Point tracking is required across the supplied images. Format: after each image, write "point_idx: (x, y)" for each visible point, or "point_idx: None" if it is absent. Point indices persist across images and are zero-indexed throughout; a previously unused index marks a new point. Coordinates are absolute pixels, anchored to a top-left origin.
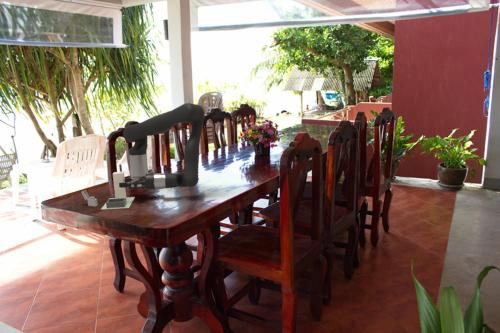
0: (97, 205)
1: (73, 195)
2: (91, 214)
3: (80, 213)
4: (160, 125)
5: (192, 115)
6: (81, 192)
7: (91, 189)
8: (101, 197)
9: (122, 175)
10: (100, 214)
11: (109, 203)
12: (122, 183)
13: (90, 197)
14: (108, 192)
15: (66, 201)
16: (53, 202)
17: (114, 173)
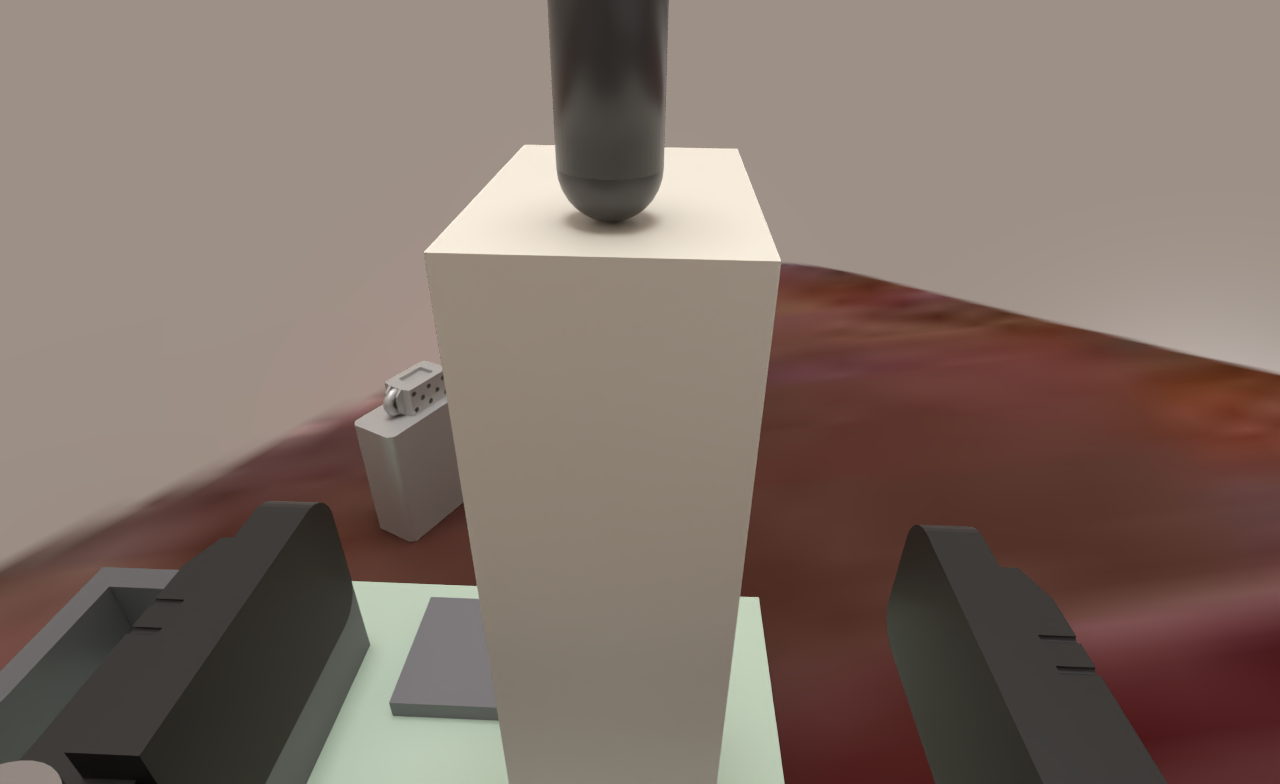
0: (402, 513)
1: (974, 331)
2: (145, 521)
3: (288, 437)
4: None
5: None
6: None
7: (1261, 397)
8: (939, 513)
9: (447, 351)
10: (31, 610)
11: (67, 626)
12: (210, 589)
13: (412, 370)
14: (1235, 552)
15: (773, 324)
16: None
17: (541, 155)
